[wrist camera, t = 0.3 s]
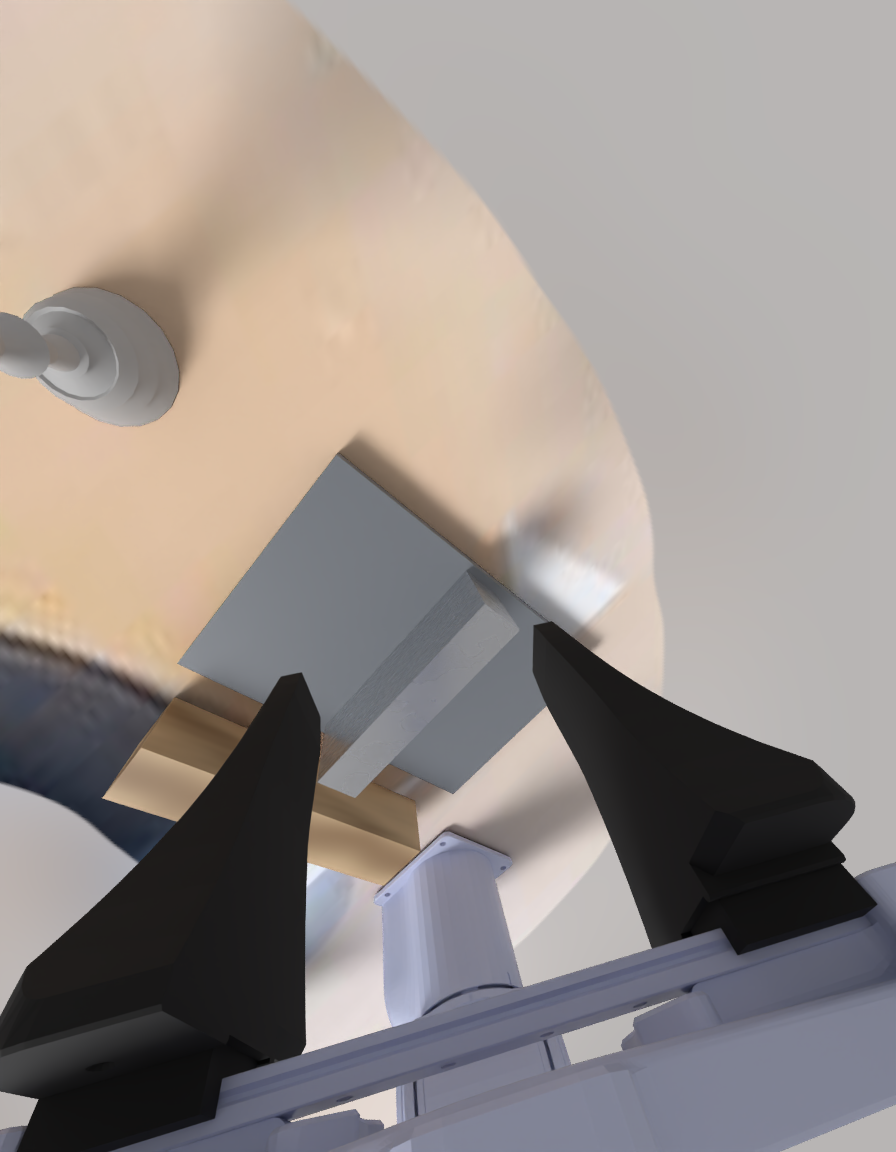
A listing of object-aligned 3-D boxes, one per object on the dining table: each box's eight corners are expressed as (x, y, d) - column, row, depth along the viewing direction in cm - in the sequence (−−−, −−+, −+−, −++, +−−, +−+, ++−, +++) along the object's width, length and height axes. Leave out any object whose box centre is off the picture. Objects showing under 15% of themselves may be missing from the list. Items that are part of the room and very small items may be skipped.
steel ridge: (357, 741, 25) (355, 798, 22) (325, 725, 24) (317, 782, 21) (496, 594, 23) (519, 630, 19) (466, 570, 22) (485, 603, 18)
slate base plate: (450, 782, 30) (453, 794, 29) (185, 652, 22) (177, 663, 21) (586, 652, 27) (593, 660, 26) (338, 452, 19) (336, 454, 18)
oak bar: (382, 829, 31) (383, 886, 27) (142, 738, 24) (102, 798, 20) (414, 797, 30) (420, 851, 27) (176, 693, 23) (141, 747, 20)
